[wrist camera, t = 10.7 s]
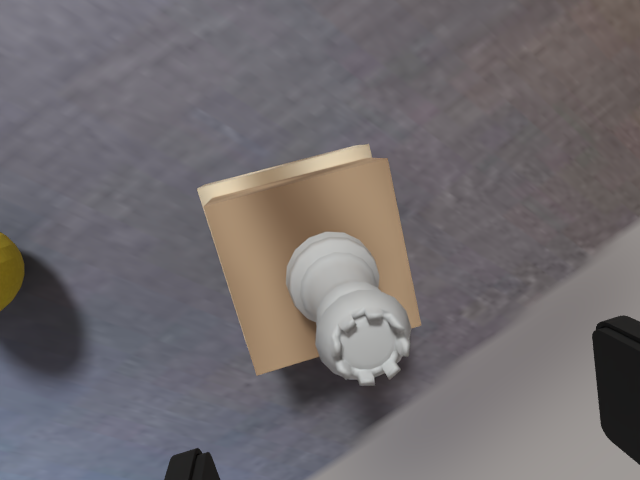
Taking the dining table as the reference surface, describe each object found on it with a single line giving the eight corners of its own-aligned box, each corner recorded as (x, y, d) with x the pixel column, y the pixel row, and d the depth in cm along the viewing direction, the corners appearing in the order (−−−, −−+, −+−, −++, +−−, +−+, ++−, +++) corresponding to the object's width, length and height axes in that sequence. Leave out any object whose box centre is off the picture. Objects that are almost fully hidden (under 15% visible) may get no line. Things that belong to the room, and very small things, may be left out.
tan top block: (365, 157, 24) (387, 158, 20) (396, 299, 26) (421, 325, 22) (212, 197, 23) (203, 206, 19) (256, 341, 25) (256, 375, 21)
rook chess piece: (347, 212, 20) (402, 253, 12) (388, 286, 21) (462, 367, 13) (267, 259, 20) (271, 330, 12) (313, 330, 21) (343, 437, 13)
